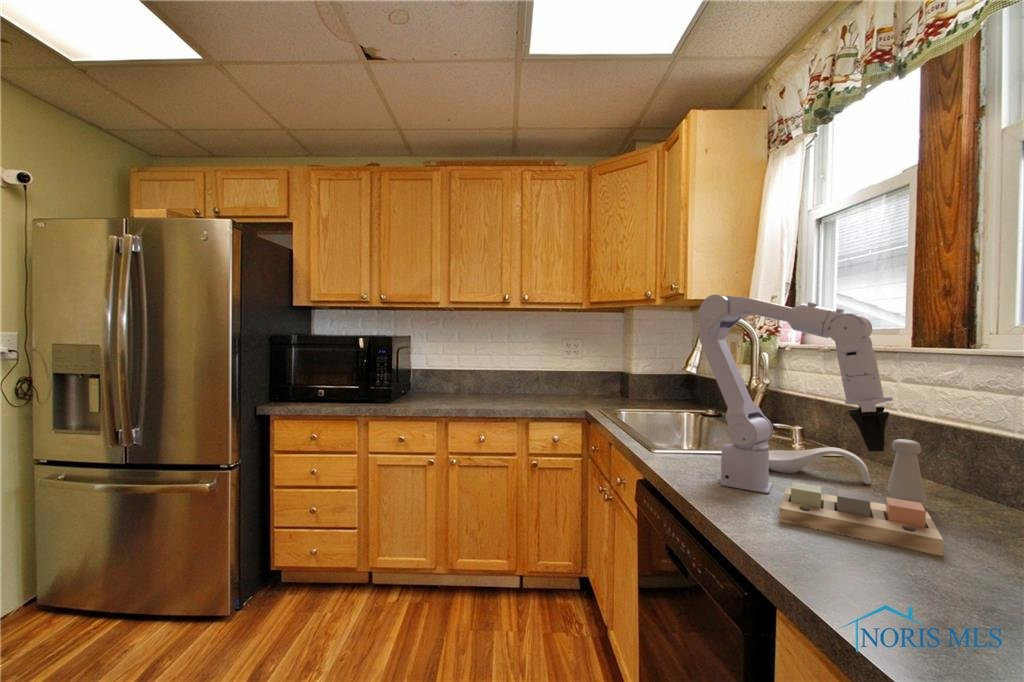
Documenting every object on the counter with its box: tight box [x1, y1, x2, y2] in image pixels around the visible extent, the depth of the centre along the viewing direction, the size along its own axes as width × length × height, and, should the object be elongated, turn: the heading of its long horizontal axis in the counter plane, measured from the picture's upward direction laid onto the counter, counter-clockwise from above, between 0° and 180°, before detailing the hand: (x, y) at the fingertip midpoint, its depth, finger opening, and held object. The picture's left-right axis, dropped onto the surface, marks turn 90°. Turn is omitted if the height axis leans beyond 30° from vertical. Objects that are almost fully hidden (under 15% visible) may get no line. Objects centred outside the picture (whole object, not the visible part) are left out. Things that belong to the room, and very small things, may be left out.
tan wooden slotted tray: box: [779, 486, 944, 557], centre depth 79 cm, size 21×14×3 cm, turn 54°
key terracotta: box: [885, 497, 927, 528], centre depth 75 cm, size 5×5×3 cm
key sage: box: [790, 481, 822, 508], centre depth 83 cm, size 5×5×3 cm
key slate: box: [836, 488, 871, 517], centre depth 79 cm, size 5×5×3 cm
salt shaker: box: [886, 438, 927, 505], centre depth 88 cm, size 6×6×13 cm
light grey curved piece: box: [769, 446, 871, 485], centre depth 110 cm, size 24×12×7 cm, turn 55°
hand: (874, 447), depth 82 cm, fingers open, 7 cm apart
